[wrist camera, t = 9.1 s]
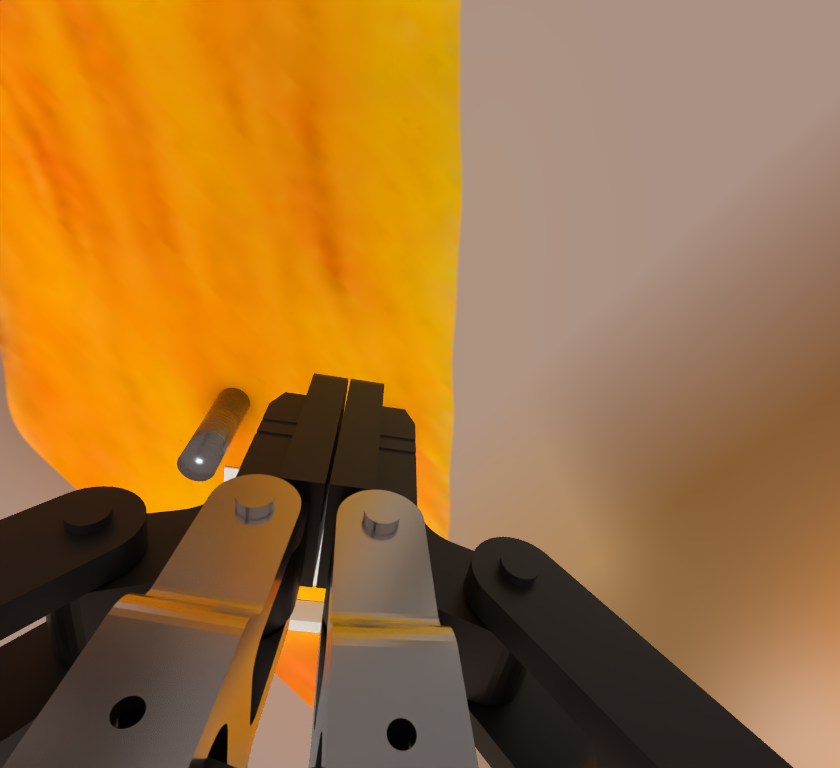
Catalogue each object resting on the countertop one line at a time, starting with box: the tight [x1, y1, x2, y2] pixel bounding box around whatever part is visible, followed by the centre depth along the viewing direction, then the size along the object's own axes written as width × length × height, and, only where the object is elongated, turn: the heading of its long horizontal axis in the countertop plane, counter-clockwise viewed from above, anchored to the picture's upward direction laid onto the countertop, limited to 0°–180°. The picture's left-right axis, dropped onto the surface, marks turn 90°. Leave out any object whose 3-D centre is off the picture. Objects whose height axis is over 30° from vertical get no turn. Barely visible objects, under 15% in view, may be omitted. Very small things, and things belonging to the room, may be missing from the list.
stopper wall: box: [288, 600, 324, 633], centre depth 56 cm, size 2×9×2 cm, turn 80°
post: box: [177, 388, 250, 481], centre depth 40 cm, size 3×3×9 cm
